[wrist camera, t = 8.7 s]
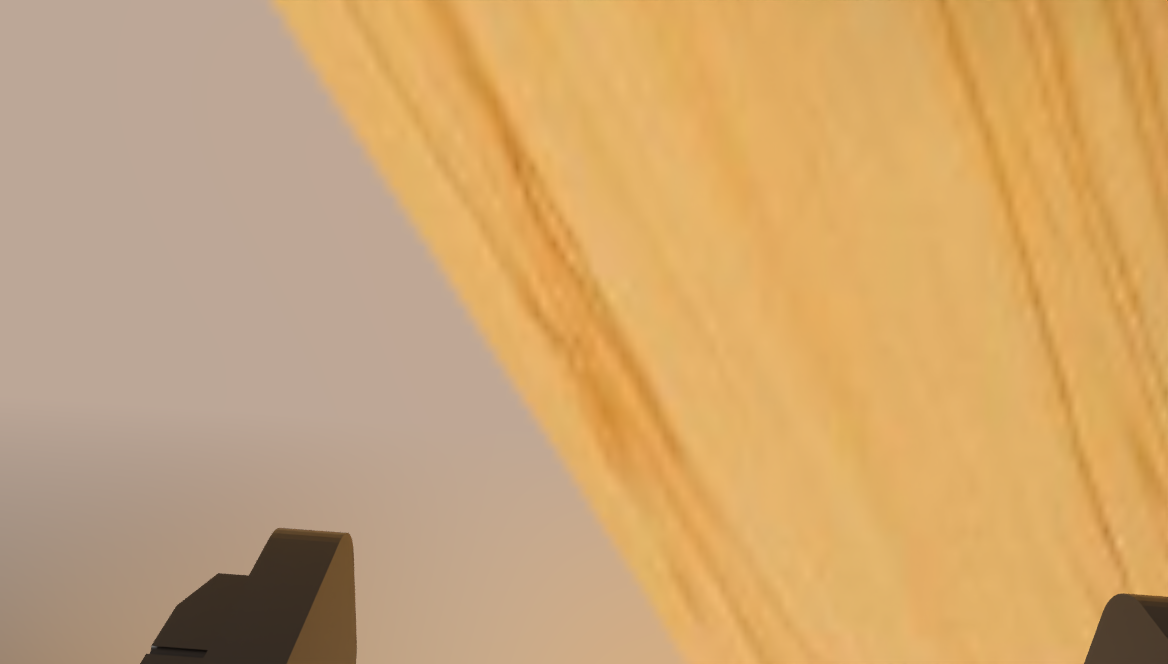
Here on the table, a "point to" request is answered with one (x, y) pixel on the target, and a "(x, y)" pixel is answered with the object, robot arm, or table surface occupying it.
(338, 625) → the robot arm
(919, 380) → the table surface
